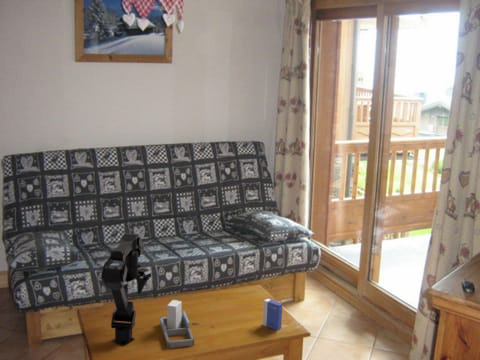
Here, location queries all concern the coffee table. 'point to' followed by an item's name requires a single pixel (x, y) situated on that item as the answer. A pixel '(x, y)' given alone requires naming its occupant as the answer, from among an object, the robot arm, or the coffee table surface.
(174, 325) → the skincare box
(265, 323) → the walkman
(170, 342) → the frame
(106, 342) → the coffee table surface
